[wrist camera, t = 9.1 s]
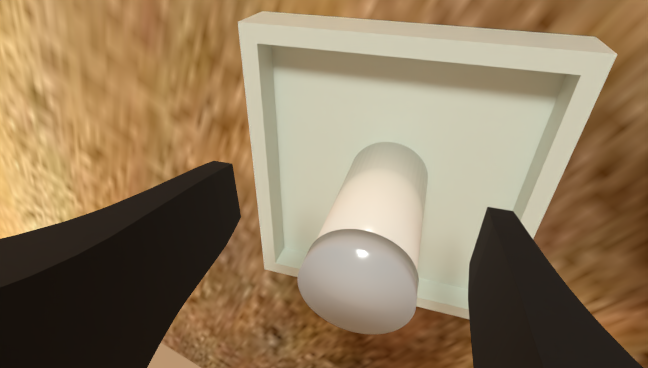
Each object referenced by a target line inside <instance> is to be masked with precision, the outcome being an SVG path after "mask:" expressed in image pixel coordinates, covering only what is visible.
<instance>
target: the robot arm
mask: <svg viewBox="0 0 648 368" xmlns="http://www.w3.org/2000/svg"><path fill="white" fill-rule="evenodd" d="M240 218H241V215H240V209H239V202H238V196H237V190H236V184H235V178H234V172H233V166H232V164H230V163H224V162H218V161H213V162H210V163H207V164H204V165H202V166H199V167H197V168H195V169H193V170H190V171H188V172H186V173H184V174H182V175H179V176H177V177H175V178H173V179H171V180H168V181H166V182H164V183H162V184H160V185H157V186H155V187H153V188H151V189H149V190H146V191H144V192H142V193H139V194H137V195H134V196H132V197H130V198H127V199H125V200H123V201H120V202H118V203H115V204H113V205H111V206H108V207H105V208H103V209H100V210H97V211H95V212H92V213H89V214H86V215H83V216H80V217H77V218H74V219H71V220H68V221H65V222H62V223H58V224H55V225H51V226H48V227H44V228H40V229H37V230H33V231H30V232H26V233H22V234H19V235H15V236H11V237H7V238H2V239H0V368H147V367H148V365H149V363H150V361H151V359H152V357H153V355H154V354H155V352H156V350H157V348H158V346H159V344H160V343H161V341H162V339H163V337H164V336H165V334H166V332H167V331H168V329H169V327H170V325H171V324H172V322H173V320H174V318H175V317H176V315H177V314H178V312H179V311H180V309H181V308H182V306H183V305H184V303H185V302H186V300H187V299H188V297H189V296H190V295H191V293H192V292H193V291H194V289H195V288H196V286H197V285H198V284H199V282H200V281H201V280H202V278H203V277H204V275H205V274H206V273H207V271H208V270H209V269H210V267H211V266H212V264H213V263H214V262H215V260H216V259H217V257H218V256H219V255H220V253H221V252H222V250H223V249H224V247H225V246H226V244H227V243H228V241H229V239H230V237H231V235H232V234H233V232H234V230H235V228H236V226H237V224H238V222H239V220H240ZM468 307H469V320H470V331H471V343H472V354H473V366H474V368H643V367H642V366H641V365H640V364H639V363H638V362H637V361H636V360H635V359H634V358H633V357H632V356H631V355H630V354H629V353H628V352H627V351H626V350H625V349H624V348H623V347H622V346H621V345H620V344H619V343H618V342H617V341H616V340H615V339H614V338H613V337H612V336H611V335H610V334H609V333H608V332H607V331H606V330H605V329H604V328H603V327H602V325H601V324H600V323H599V322H598V321H597V320H596V319H595V318H594V317H593V316H592V314H591V313H590V312H589V311H588V310H587V309H586V307H585V306H584V305H583V304H582V303H581V302H580V300H579V299H578V298H577V297H576V296H575V295H574V293H573V292H572V291H571V290H570V289H569V287H568V286H567V285H566V284H565V282H564V281H563V280H562V278H561V277H560V276H559V274H558V273H557V272H556V271H555V269H554V268H553V267H552V265H551V264H550V263H549V261H548V260H547V259H546V257H545V256H544V254H543V253H542V252H541V250H540V249H539V247H538V246H537V244H536V243H535V242H534V240H533V239H532V237H531V236H530V234H529V233H528V231H527V230H526V229H525V227H524V226H523V224H522V223H521V221H520V220H519V218H518V217H517V216H516V214H515V213H514V211H510V210H504V209H498V208H492V207H487V210H486V213H485V216H484V219H483V222H482V225H481V228H480V232H479V235H478V238H477V241H476V244H475V247H474V250H473V254H472V257H471V260H470V263H469V280H468Z"/></svg>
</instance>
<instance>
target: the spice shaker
mask: <svg viewBox="0 0 648 368" xmlns="http://www.w3.org/2000/svg"><path fill="white" fill-rule="evenodd" d="M427 184H428V172H427V168H426V166H425V164H424V162H423V160H422V159H421V158H420V156H419V155H418V154H417V153H416V152H414V151H413V150H412V149H410V148H408V147H406V146H404V145H402V144H398V143H394V142H379V143H374V144H371V145H369V146H367V147H365V148H364V149H362V150H361V151H360V152H359V153H358V154H357V155H356V157H355V158H354V160H353V162H352V164H351V167H350V169H349V171H348V173H347V175H346V177H345V179H344V182H343V184H342V186H341V188H340V190H339V192H338V195H337V197H336V199H335V201H334V203H333V205H332V207H331V210H330V212H329V214H328V216H327V218H326V220H325V223H324V225H323V227H322V229H321V231H320V233H319V235H318V238H317V239H316V240H315V242H314V243H313V244H312V245H311V247H310V248H309V251H308V253H307V255H306V257H305V259H304V261H303V263H302V265H301V267H300V270H299V273H298V287H299V290H300V293H301V295H302V297H303V299H304V300H305V302H306V303H307V304H308V306H309V307H310V308H311V309H312V310H313V311H314V312H315V313H316V314H318V315H319V316H320V317H322V318H323V319H324V320H326V321H328V322H329V323H331V324H333V325H335V326H337V327H340V328H342V329H345V330H348V331H352V332H356V333H362V334H384V333H389V332H393V331H395V330H398V329H400V328H401V327H403V326H404V325H406V324H407V323H408V322H409V321H410V320H411V318H412V317H413V315H414V313H415V310H416V302H417V293H418V284H419V277H418V272H417V268H418V260H419V251H420V243H421V234H422V226H423V218H424V209H425V201H426V192H427Z"/></svg>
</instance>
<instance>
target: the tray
mask: <svg viewBox="0 0 648 368" xmlns="http://www.w3.org/2000/svg"><path fill="white" fill-rule="evenodd" d="M238 29H239V38H240V47H241V56H242V66H243V75H244V84H245V93H246V102H247V112H248V121H249V130H250V139H251V148H252V158H253V167H254V176H255V185H256V194H257V204H258V213H259V222H260V231H261V240H262V250H263V259H264V268H265V269H266V270H270V271H274V272H278V273H282V274H286V275H290V276H294V277H298V273H299V270H300V267H301V265H302V263H303V261H304V259H305V257H306V255H307V253H308V251H309V248H310V247H311V245H312V244H313V243H314V242H315V240H316V239H317V238H318V235H319V233H320V231H321V229H322V227H323V225H324V223H325V220H326V218H327V216H328V214H329V212H330V210H331V207H332V205H333V203H334V201H335V199H336V197H337V195H338V192H339V190H340V188H341V186H342V184H343V182H344V179H345V177H346V175H347V173H348V171H349V169H350V167H351V164H352V162H353V160H354V158H355V157H356V155H357V154H358V153H359V152H360V151H361V150H362V149H364V148H365V147H367V146H369V145H371V144H374V143H379V142H394V143H398V144H402V145H404V146H406V147H408V148H410V149H412V150H413V151H414V152H416V153H417V154H418V155H419V156H420V158H421V159H422V160H423V162H424V164H425V166H426V168H427V172H428V184H427V192H426V201H425V209H424V218H423V226H422V234H421V243H420V251H419V260H418V268H417V272H418V277H419V284H418V293H417V302H416V306H417V307H421V308H425V309H429V310H433V311H437V312H441V313H446V314H450V315H454V316H458V317H462V318H466V319H469V307H468V280H469V263H470V260H471V257H472V254H473V250H474V247H475V244H476V241H477V238H478V235H479V232H480V228H481V225H482V222H483V219H484V216H485V213H486V210H487V207H492V208H498V209H504V210H510V211H514V213H515V214H516V216H517V217H518V218H519V220H520V221H521V223H522V224H523V226H524V227H525V229H526V230H527V231H528V233H529V234H530V236H531V237H532V239H533V238H534V236H535V234H536V231H537V229H538V227H539V225H540V223H541V220H542V218H543V216H544V214H545V212H546V209H547V207H548V205H549V203H550V201H551V198H552V196H553V194H554V192H555V190H556V188H557V185H558V183H559V181H560V179H561V177H562V174H563V172H564V170H565V168H566V166H567V163H568V161H569V159H570V157H571V155H572V152H573V150H574V148H575V146H576V144H577V142H578V139H579V137H580V135H581V133H582V131H583V128H584V126H585V124H586V122H587V120H588V117H589V115H590V113H591V111H592V109H593V106H594V104H595V102H596V100H597V98H598V96H599V93H600V91H601V89H602V87H603V85H604V82H605V80H606V78H607V76H608V74H609V71H610V69H611V67H612V65H613V63H614V60H615V58H616V56H617V53H615V52H614V51H613V50H611V49H610V48H609V47H608V46H606V45H605V44H604V43H603V42H601V41H600V40H599V39H598V38H596V37H591V36H578V35H565V34H552V33H539V32H526V31H513V30H500V29H487V28H474V27H461V26H448V25H435V24H422V23H408V22H395V21H382V20H369V19H356V18H343V17H330V16H317V15H304V14H291V13H278V12H265V11H262V12H260V13H257V14H255V15H253V16H250V17H248V18H246V19H243V20H241V21H239V22H238Z"/></svg>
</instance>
